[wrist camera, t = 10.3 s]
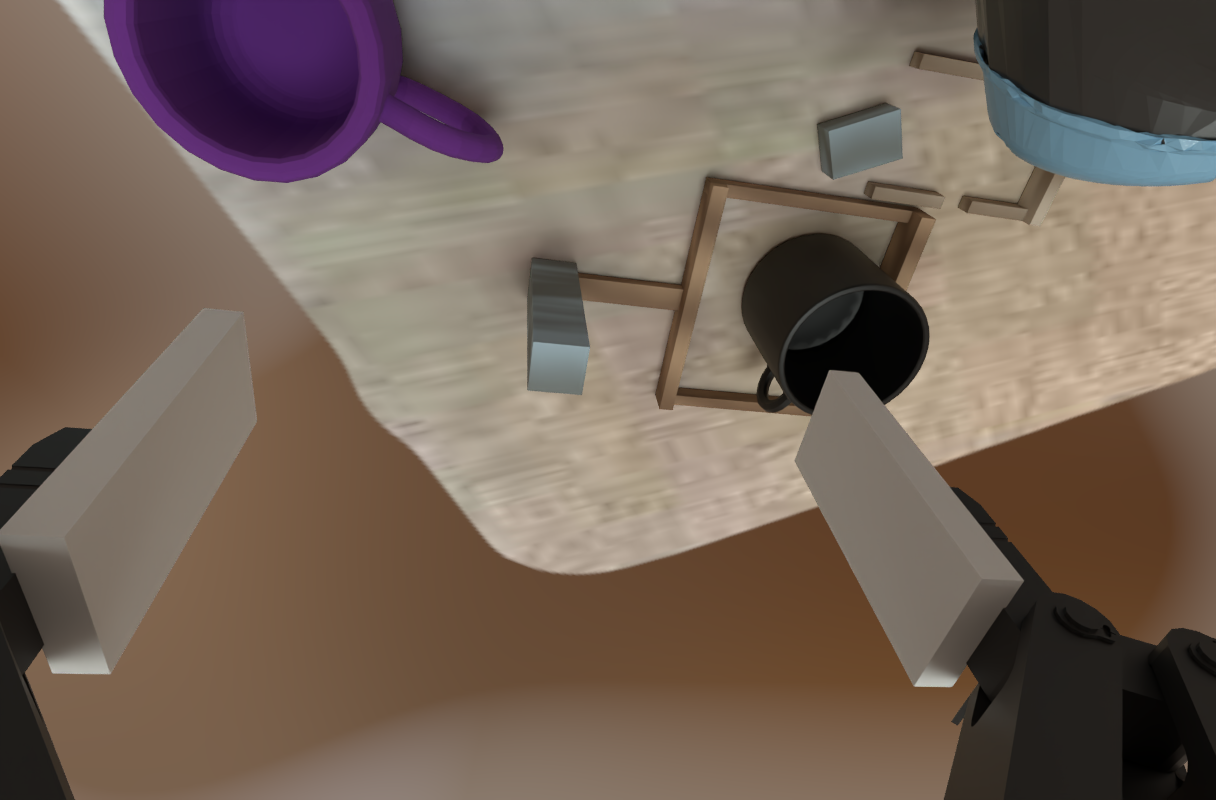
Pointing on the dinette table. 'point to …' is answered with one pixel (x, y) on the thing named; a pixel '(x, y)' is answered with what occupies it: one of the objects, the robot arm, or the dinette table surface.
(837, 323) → the mug
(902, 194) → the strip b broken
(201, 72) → the mug
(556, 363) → the wooden frame with post
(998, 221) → the dinette table surface
